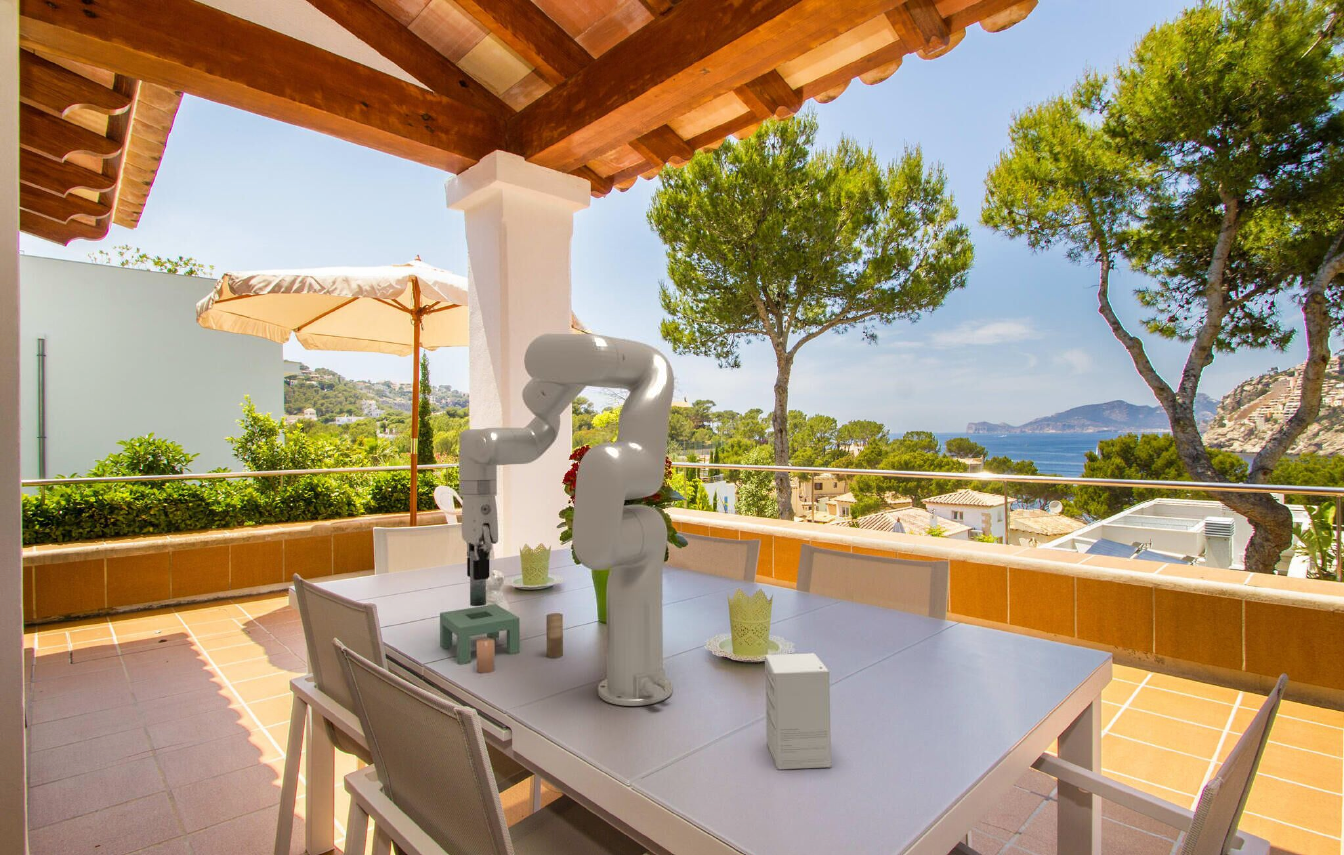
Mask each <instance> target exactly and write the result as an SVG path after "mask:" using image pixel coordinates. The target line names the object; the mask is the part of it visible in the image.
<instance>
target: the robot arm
mask: <svg viewBox="0 0 1344 855" xmlns="http://www.w3.org/2000/svg"><path fill="white" fill-rule="evenodd" d="M523 360H524V362H523V363H524V368H525V371H526V372H527V374H528V376H529V377H531V379H530V380H529V381H528V383H527V384H525V386H524V387H523V390H522V394H521V396H522V400H523V403H524V404H525V406H526V408H527V409H528V410H529V411H530V413H531V414H533V415H534V417H533V419H532V420H531V421H530V422H529V423H528V424H527V425H526V426H524V427H486V428H483V429H482V428H476V429H472V428H471V429H469V428H468V429H464V430H462V431H461V432H460V433H459V438H458V440H459V441H458V445H459V446H458V480H459V481H458V493H459V494H458V496H459V497H461V498H462V503H461V505H462V506H461V538H462V540H463V541H464V542H465V543H466V556H467V557H466V572H467V574H466V576H467V577H468V578H470V551H472V550H475V560H473V579H474V580H481V579H486V580H487V579H488V578H489V576H490V560H491V559H490V558H491V555H490V552H491V550H492V549H493V546H492V544H497V543H499V524H498V522H499V521H498V509H497V501H496V496H497V494H498V486H497V484H498V476H497V475H498V473H497V471H498V470H497V469H498V467H497V466H506V465H526V464H527V465H528V464H530V463H532V462H536V461H537V460H539V458H541V456H542V455H544V454H545V453H546V452H547V451H548V450H549V448H550V447H551V446H552V445H553V444H554V443H555V441H556V440H557V437H558V435H559V431H560V429H561V428H560V427H561V414H562V413H563V412H564V411H565V410H566V409H567V408H568V406H570V404H572V403H573V401H574V400H575V399H576V398H577V397H578V396H579V394H581V393H582V392H583V391H584V389H585V388H587V387H594V388H595V387H597V388H609V389H622V390H623V389H624V390H627V391H628V392H629V394H628V396H627V397H626V399H625V400H624V403H623V404H622V407H621V409H620V413H619V415H618V416H619V417H618V422H617V423H618V426H617V428H618V429H617V435H616V438H615V439H616V440H615V442H609V441H608V442H601V443H598V444H596V445H593V446H592V447H590V448H589V449H588V450H587V451H586V452H585V454H584V455H583V456H582V457H581V458H582V459H581V460H580V463H579V466H578V468H577V472H576V481H575V492H574V504H573V514H572V515H573V517H572V518H573V520H572V529H571V530H572V533H571V537H572V538H571V539H572V546H573V550H574V554H575V556H576V558H577V559H578V561H579V563H581V564H582V565H583V566H584V567H585V568H587V569H589V570H592V571H593V570H594V571H603V570H609V569H610V571H609V573H608V577H607V583H606V603H605V606H606V678H605V679H603V680H602V681H601V682H599V684H598V686H597V694H598V696H599V698H601V699H602V700H603V701H605V702H606V703H610V704H614V705H618V706H627V707H628V706H629V707H636V706H637V707H639V706H640V707H641V706H647V705H648V706H649V705H652V704H656V703H659V702H662V701H664V700H666V699H667V698H669V697H670V696H671V695H672V693H673V683H672V681H671V680H670V679H669V678H667V677H666V670H665V669H664V651H663V650H664V638H663V637H664V632H663V631H664V629H663V628H664V626H663V625H664V624H663V597H664V596H663V578H664V577H663V574H664V565H665V564H664V562H665V558H666V551H667V544H668V529H667V523H666V521H665V519H664V517H663V516H662V514H661V513H660V512H659V511H658V510H656V508H654V507H651V506H650V505H649V506H648V505H645V504H629V505H625V501H627V500H629V501H630V500H636V499H637V500H638V499H642V498H647V497H650V496H653V495H654V494H656V493H658V492H659V490H660V489H661V488H662V486H663V483H664V478H665V473H666V471H665V470H666V462H667V461H666V458H667V448H668V438H669V424H670V423H669V422H670V415H671V407H672V402H673V397H674V391H675V390H674V389H675V377H674V371H673V368H672V366H671V363H670V361H669V360H668V358H667V357H666V356H665V354H663V353H662V352H661V351H660V350H658V349H657V348H655V347H653V346H652V345H649V344H646V343H644V342H640V341H636V340H632V339H631V340H630V339H625V338H617V337H613V336H606V335H603V334H602V335H601V334H594V333H545V334H541V335H539V336H537V337H536V338H534V339H533V340H532V341H531V342H530V343H529V344H528V346H527V348H526V350H525V354H524V359H523ZM479 550H480V551H479Z"/></svg>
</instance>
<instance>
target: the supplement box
mask: <svg viewBox="0 0 1344 855" xmlns="http://www.w3.org/2000/svg"><path fill="white" fill-rule="evenodd" d="M764 670H765V671H764V672H765V674H764V675H765V719H766V721H765V724H766V726H765V727H766V728H765V729H766V730H765V731H766V745H767V747H768V749H769V752H770V755H771V757H772V760H773V762H774V765H775V767H776V769H777V770H778V771H779V770H793V769H794V770H795V769H816V768H817V769H818V768H819V769H820V768H832V743H831V742H832V741H831V738H832V737H831V736H832V734H831V697H830V696H831V691H830V688H831V686H830V671H829V670H828V668H827V667H826V666H825V664H824V663H823V662H822V661H821V659H820V658H819V657H818V656H817V655H816V654H815V653H814V652H810V653H789V654H788V653H787V654H786V653H785V654H784V653H783V654H781V653H780V654H764Z"/></svg>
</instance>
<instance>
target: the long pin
mask: <svg viewBox="0 0 1344 855" xmlns="http://www.w3.org/2000/svg"><path fill="white" fill-rule="evenodd" d="M479 551H480V550H479ZM473 560H475V550H472V551H470V577H469V605H470V607H481V606H483V605H486V590H487V587H486V582H487V579H481V580H474V579H473Z"/></svg>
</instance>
